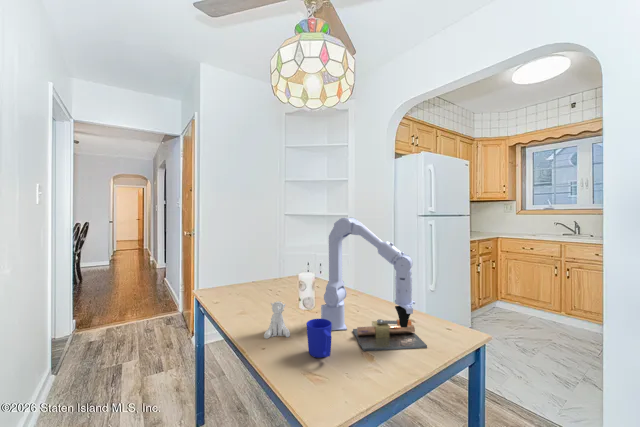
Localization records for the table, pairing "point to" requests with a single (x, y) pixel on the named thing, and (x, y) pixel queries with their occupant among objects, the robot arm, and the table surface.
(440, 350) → the table surface
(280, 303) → the sitting furry creature
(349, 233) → the robot arm
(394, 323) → the valve lever
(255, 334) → the table surface
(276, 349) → the table surface
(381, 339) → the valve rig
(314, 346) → the mug
